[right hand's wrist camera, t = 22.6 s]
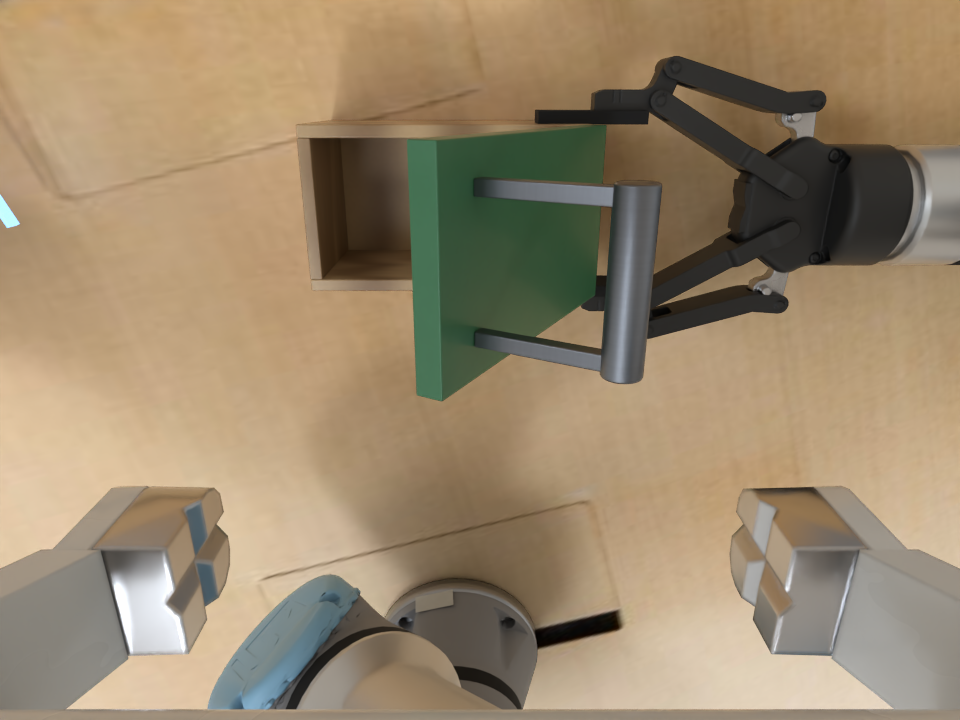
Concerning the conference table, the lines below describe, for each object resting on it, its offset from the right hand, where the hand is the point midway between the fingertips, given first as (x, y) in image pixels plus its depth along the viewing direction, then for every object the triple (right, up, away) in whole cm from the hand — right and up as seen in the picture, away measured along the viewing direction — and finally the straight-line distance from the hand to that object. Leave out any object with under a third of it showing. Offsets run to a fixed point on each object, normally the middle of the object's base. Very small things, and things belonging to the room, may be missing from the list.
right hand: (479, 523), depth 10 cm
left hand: (+3, +12, +31) cm, 34 cm away
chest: (-2, +15, +38) cm, 41 cm away
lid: (+2, +9, +22) cm, 23 cm away
